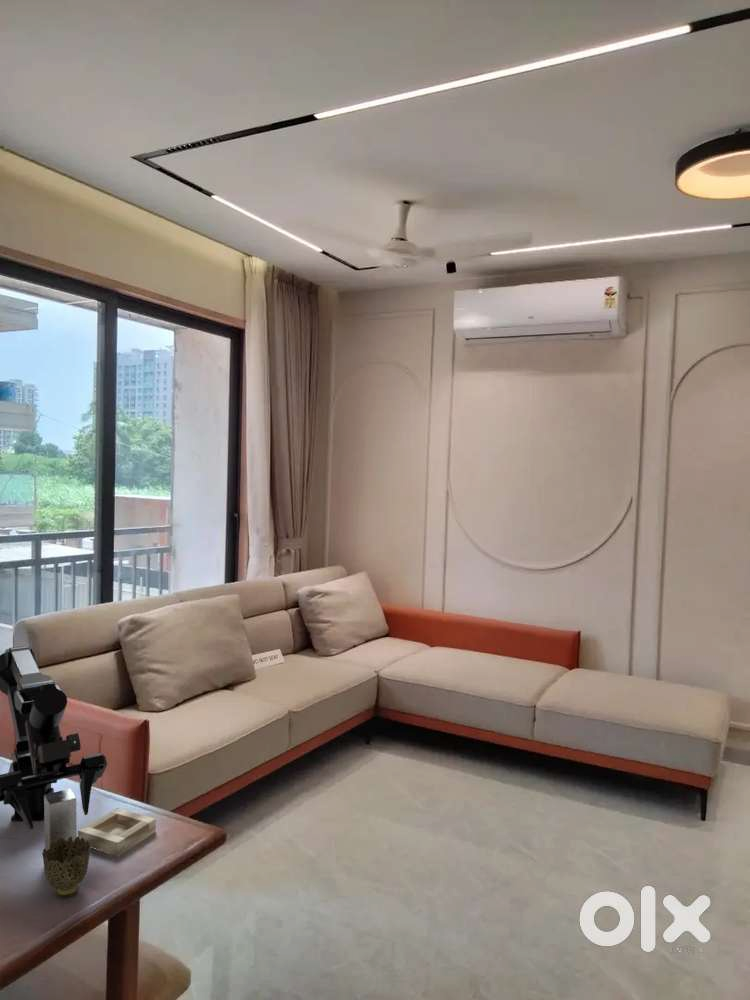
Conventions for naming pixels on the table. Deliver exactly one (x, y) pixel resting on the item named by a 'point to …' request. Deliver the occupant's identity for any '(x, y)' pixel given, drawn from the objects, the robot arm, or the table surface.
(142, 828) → the socket block
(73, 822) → the steel bar
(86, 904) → the table surface
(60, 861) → the cup
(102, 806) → the table surface
